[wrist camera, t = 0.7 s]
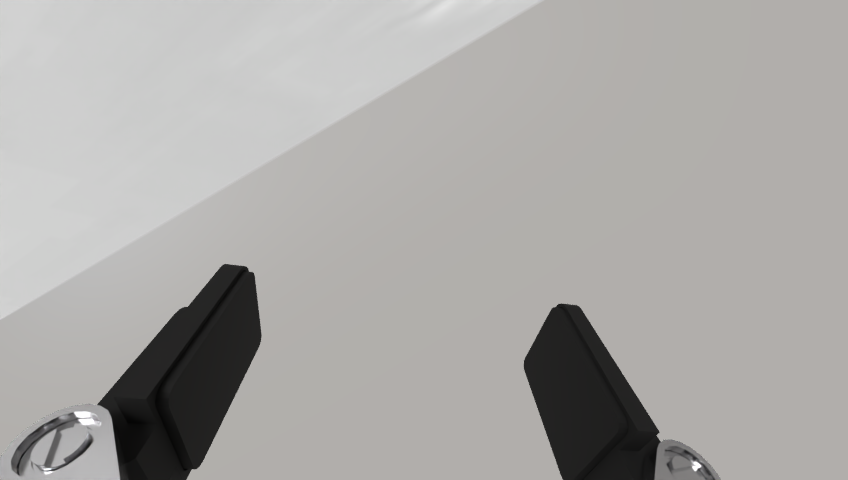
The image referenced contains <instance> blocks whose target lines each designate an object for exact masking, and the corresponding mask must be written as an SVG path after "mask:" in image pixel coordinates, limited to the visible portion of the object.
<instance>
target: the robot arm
mask: <svg viewBox="0 0 848 480" xmlns="http://www.w3.org/2000/svg"><path fill="white" fill-rule="evenodd" d="M260 342H261V327H260V319H259V310H258V301H257V293H256V284H255V276H254V273H253V272H249V271H248V268H247V267H245V266H237V265H229V264H224V265H223V266H221V267H220V269H219V270H218V271H217V272H216V273H215V275H214V276H213V277H212V278H211V279H210V281H209V282H208V283H207V284H206V286H205V287H204V288H203V289H202V290H201V292H200V293H199V294H198V295H197V296H196V298H195V299H194V300H193V302H191V304H190V305H189V306H188V307H184V308H181V309H180V310H179V311H177V313H175V314H174V316H173V317H172V318H171V319H170V320H169V321H168V323H167V324H166V325H165V326H164V327H163V328H162V330H161V331H160V332H159V333H158V334H157V336H156V337H155V338H154V339H153V340H152V341H151V343H150V344H149V345H148V346H147V347H146V349H144V351H143V352H142V353H141V354H140V355H139V356H138V358H137V359H136V360H135V361H134V362H133V363H132V365H131V366H130V367H129V368H128V369H127V370H126V372H125V373H124V374H123V375H122V376H121V377H120V379H119V380H118V381H117V382H116V383H115V385H114V386H113V387H112V388H111V389H110V390H109V392H108V393H107V394H106V395H105V396H104V397H103V399H102V400H101V401H100V402H99V403H98V404H97V405H93V404H84V405H75V406H71V407H68V408H65V409H62V410H59V411H56V412H54V413H52V414H50V415H48V416H46V417H44V418H42V419H40V420H39V421H37V422H36V423H34V424H33V425H32V426H30V427H28V428H27V429H25V430H24V431H23V432H22V433H21V434H20V435H19V436H18V437H17V438H15V439H14V440H13V441H12V442H11V443H10V445H9V446H8V447H7V449H6V450H5V451H4V453H3V454H2V456H1V458H0V480H186V479H187V477H188V475H189V473H190V471H191V469H197V468H198V467H199V466H200V465H201V463H202V462H203V460H204V458H205V455H206V454H207V451H208V450H209V447H210V446H211V444H212V441H213V439H214V437H215V435H216V433H217V431H218V429H219V427H220V425H221V423H222V421H223V419H224V417H225V415H226V413H227V411H228V409H229V407H230V405H231V403H232V401H233V399H234V397H235V394H236V392H237V390H238V388H239V386H240V384H241V382H242V380H243V378H244V376H245V374H246V372H247V370H248V368H249V366H250V364H251V362H252V360H253V358H254V356H255V354H256V351H257V350H258V347H259V345H260ZM524 370H525V373H526V376H527V379H528V382H529V385H530V388H531V390H532V393H533V396H534V399H535V402H536V405H537V408H538V410H539V413H540V416H541V419H542V422H543V425H544V428H545V430H546V434H547V436H548V439H549V442H550V445H551V448H552V451H553V453H554V456H555V459H556V462H557V465H558V468H559V471H560V474H561V476H562V479H563V480H721V479H720V477H719V476H718V474H717V473H716V472H715V470H714V469H713V468H712V467H711V465H710V464H709V463H708V462H707V461H706V460H705V459H704V458H703V457H702V456H701V455H700V454H698V453H697V452H696V451H694V450H693V449H692V448H690V447H689V446H686V445H685V444H683V443H681V442H678V441H675V440H663V441H662V442H660V440H659V439H658V437H657V436H656V435H657V434H658V433H659V430H658V429H657V428H656V426H655V424H654V423H653V421H652V419H651V418H650V416H649V415H648V413H647V412H646V410H645V409H644V407H643V405H642V404H641V402H640V401H639V399H638V397H637V396H636V394H635V393H634V391H633V390H632V388H631V386H630V385H629V383H628V382H627V380H626V379H625V377H624V375H623V374H622V372H621V371H620V369H619V368H618V366H617V364H616V363H615V361H614V360H613V358H612V357H611V355H610V354H609V352H608V350H607V349H606V347H605V346H604V344H603V343H602V341H601V340H600V338H599V336H598V335H597V333H596V332H595V330H594V328H593V327H592V325H591V324H590V322H589V321H588V319H587V318H586V316H585V314H584V313H583V311H582V310H581V308H580V307H579V306H577V305H569V304H558V305H557V306H556V307H555V308H552V310H551V311H550V313H549V315H548V317H547V318H546V320H545V322H544V324H543V326H542V328H541V330H540V332H539V334H538V335H537V337H536V339H535V341H534V343H533V345H532V347H531V348H530V350H529V352H528V354H527V356H526V358H525V360H524Z"/></svg>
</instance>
